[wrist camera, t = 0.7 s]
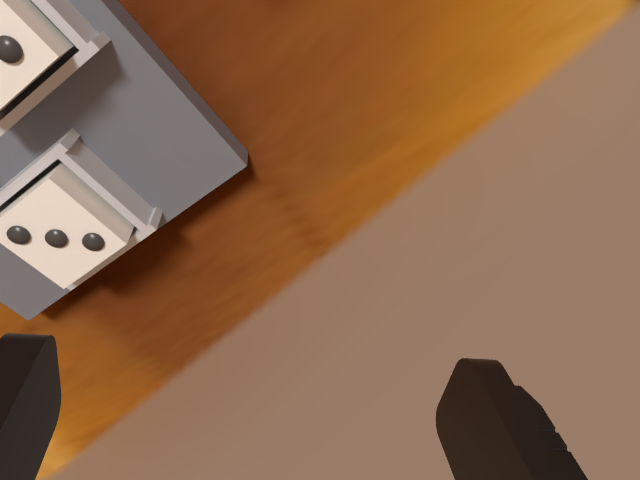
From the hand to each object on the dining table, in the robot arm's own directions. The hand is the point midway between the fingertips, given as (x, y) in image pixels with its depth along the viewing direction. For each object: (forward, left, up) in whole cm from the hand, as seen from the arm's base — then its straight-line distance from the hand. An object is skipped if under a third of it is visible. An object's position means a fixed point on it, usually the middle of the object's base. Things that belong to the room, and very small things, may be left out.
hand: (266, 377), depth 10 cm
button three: (+13, -1, -18) cm, 22 cm away
